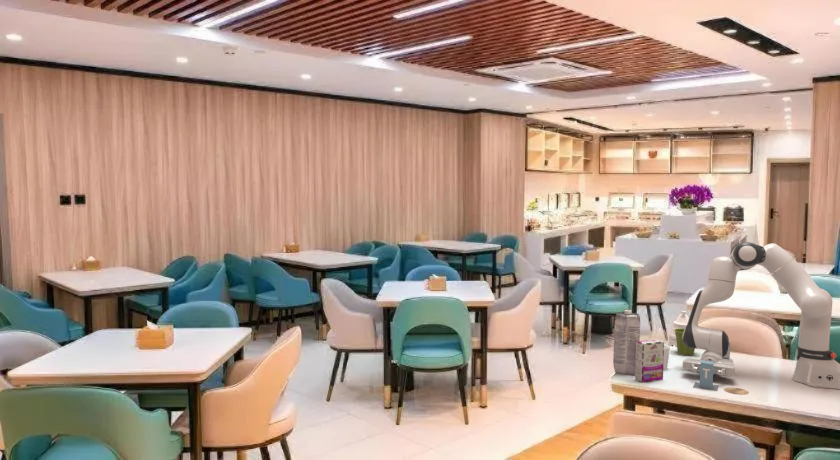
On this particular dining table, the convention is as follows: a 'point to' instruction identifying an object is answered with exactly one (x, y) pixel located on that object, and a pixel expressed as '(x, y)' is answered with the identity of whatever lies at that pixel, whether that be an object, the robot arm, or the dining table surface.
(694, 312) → the robot arm
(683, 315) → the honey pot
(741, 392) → the coaster
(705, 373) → the letter block
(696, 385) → the tile
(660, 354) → the candy bar box
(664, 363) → the white cup
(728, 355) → the medicine box
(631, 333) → the juice carton
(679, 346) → the plant pot
